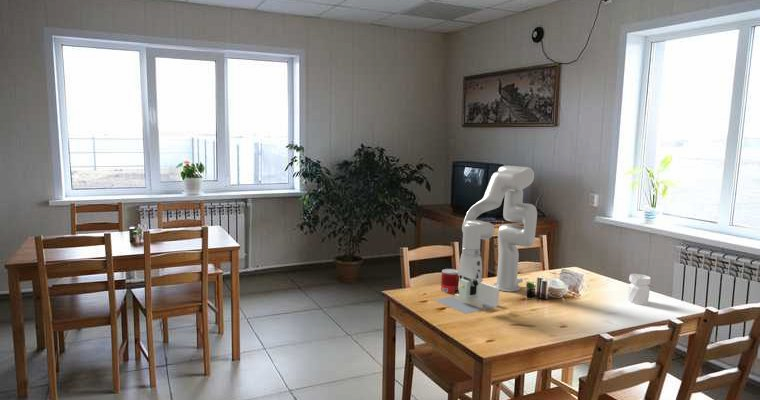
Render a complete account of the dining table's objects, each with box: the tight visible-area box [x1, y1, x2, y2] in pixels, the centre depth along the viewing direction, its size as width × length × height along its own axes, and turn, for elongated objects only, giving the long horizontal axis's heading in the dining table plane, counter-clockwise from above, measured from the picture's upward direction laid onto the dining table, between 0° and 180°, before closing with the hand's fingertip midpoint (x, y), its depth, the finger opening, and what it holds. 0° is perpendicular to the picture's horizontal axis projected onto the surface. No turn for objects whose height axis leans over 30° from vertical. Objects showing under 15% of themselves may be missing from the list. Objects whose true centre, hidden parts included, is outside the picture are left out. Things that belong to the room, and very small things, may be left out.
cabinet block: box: [458, 278, 479, 300], centre depth 226 cm, size 8×4×8 cm, turn 124°
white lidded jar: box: [627, 273, 652, 306], centre depth 240 cm, size 9×9×12 cm
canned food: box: [440, 268, 460, 294], centre depth 243 cm, size 8×8×11 cm
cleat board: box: [434, 281, 500, 315], centre depth 226 cm, size 19×20×10 cm
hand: (468, 292), depth 227 cm, fingers closed on cabinet block, 4 cm apart
